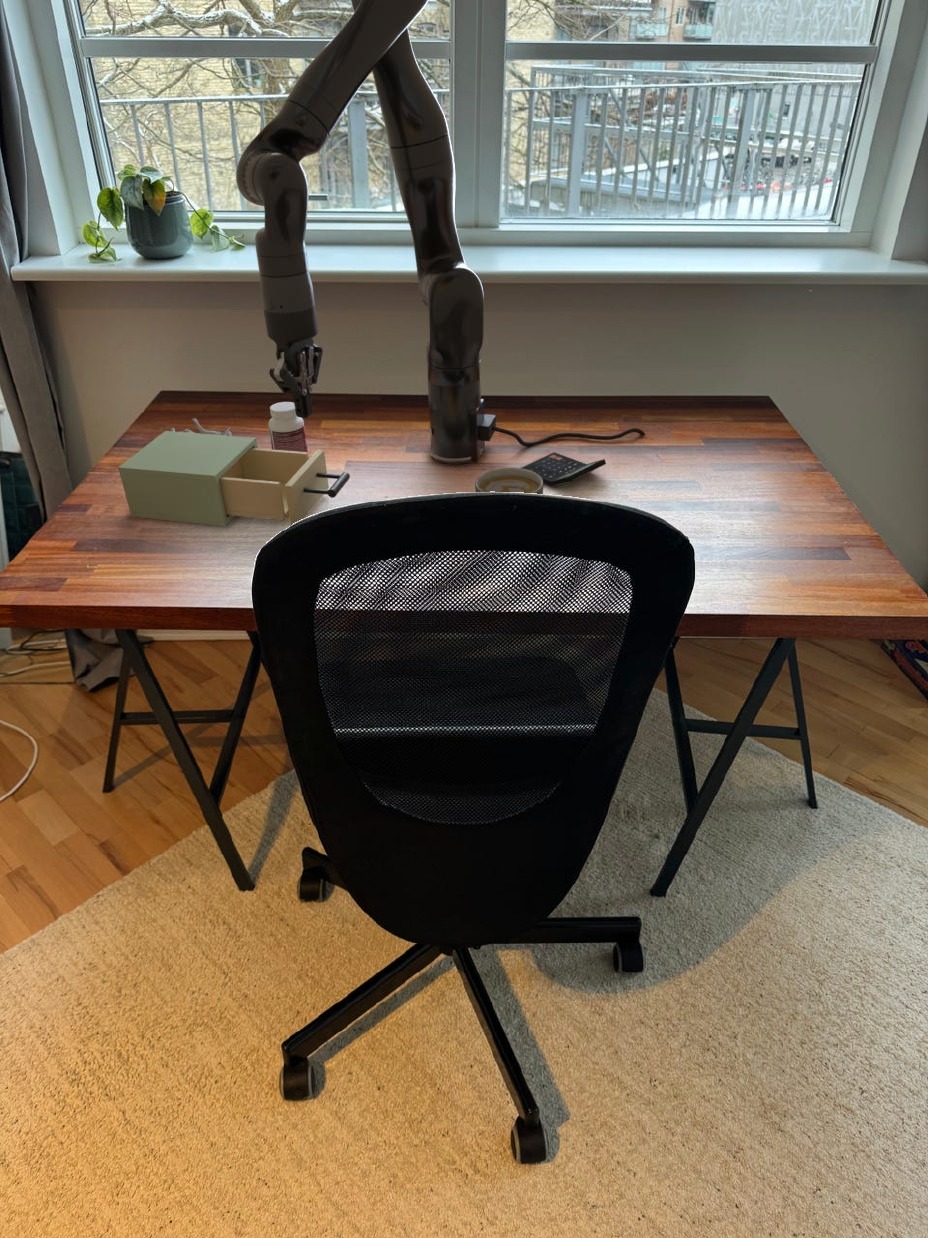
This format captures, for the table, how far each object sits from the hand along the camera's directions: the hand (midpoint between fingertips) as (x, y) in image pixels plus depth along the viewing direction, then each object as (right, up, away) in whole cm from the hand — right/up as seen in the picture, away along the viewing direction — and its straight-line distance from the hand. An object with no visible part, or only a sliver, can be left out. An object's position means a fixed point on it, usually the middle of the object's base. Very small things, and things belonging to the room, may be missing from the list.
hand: (304, 415), depth 139 cm
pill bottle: (-6, -5, +20) cm, 21 cm away
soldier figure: (-24, +1, +28) cm, 37 cm away
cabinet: (-19, -12, +9) cm, 24 cm away
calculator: (+42, -7, +14) cm, 45 cm away
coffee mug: (+32, -20, -4) cm, 37 cm away
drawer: (-4, -13, +5) cm, 15 cm away
